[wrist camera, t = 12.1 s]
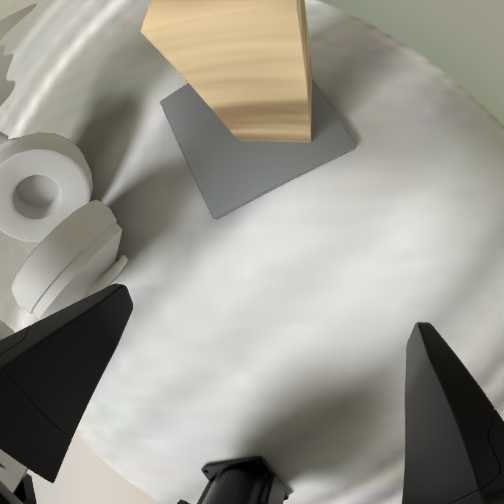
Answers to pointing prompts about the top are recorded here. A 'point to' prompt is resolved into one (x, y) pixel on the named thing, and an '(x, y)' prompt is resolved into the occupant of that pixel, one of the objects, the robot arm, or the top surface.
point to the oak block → (241, 61)
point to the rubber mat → (248, 150)
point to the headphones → (55, 224)
